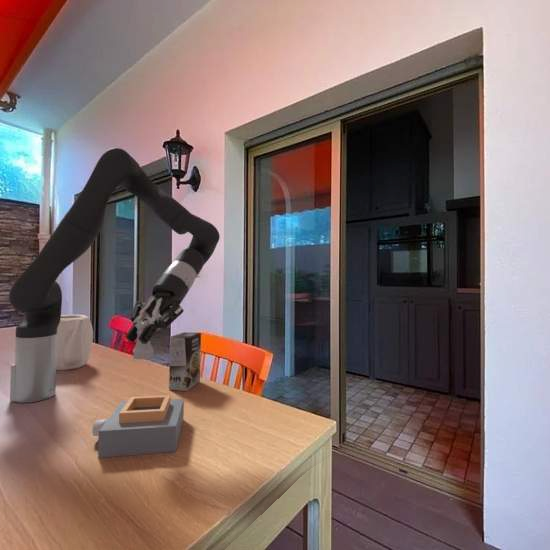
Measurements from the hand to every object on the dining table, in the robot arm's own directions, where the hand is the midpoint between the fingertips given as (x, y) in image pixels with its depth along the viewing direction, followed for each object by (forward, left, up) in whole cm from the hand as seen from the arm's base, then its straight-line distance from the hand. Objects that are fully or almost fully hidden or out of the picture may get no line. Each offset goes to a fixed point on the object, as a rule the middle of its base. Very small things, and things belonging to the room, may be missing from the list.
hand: (135, 340), depth 67 cm
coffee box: (+8, +30, -21) cm, 37 cm away
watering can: (-36, +55, -21) cm, 69 cm away
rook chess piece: (+1, +2, -4) cm, 5 cm away
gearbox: (+1, -1, -20) cm, 20 cm away
